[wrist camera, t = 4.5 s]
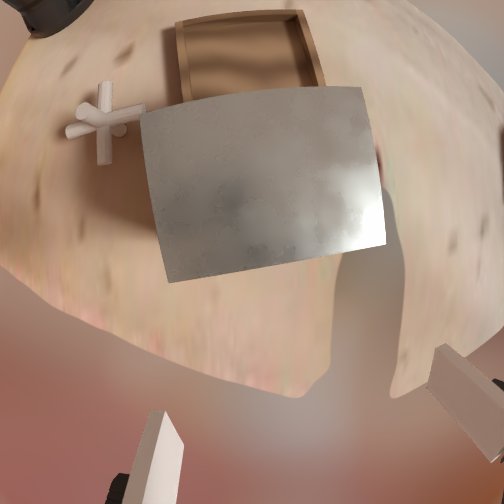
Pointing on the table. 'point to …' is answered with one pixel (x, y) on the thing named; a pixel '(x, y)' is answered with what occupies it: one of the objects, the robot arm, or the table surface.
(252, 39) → the tray
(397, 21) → the table surface
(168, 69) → the table surface
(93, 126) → the pipe connector
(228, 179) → the box
